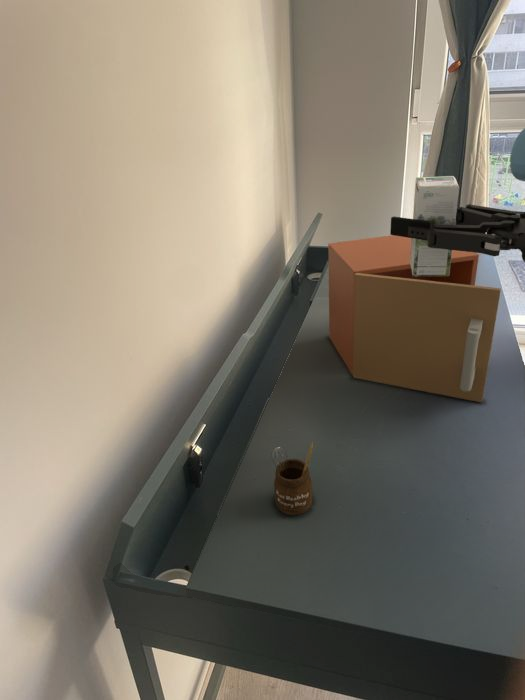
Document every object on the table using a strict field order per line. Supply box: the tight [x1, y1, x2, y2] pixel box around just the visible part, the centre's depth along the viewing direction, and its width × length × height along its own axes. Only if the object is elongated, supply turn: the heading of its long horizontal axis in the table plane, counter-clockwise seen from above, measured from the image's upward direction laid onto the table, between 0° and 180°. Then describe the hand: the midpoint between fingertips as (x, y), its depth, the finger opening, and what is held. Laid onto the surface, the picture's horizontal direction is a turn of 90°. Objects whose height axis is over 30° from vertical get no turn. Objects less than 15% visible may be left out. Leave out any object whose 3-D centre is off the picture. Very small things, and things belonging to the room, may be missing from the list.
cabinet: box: [327, 234, 480, 376], centre depth 118 cm, size 18×26×24 cm
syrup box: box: [410, 175, 460, 276], centre depth 82 cm, size 6×6×14 cm
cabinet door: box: [352, 273, 502, 403], centre depth 100 cm, size 7×26×24 cm, turn 64°
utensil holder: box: [270, 441, 314, 516], centre depth 81 cm, size 6×6×12 cm
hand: (404, 218), depth 84 cm, fingers closed on syrup box, 7 cm apart
